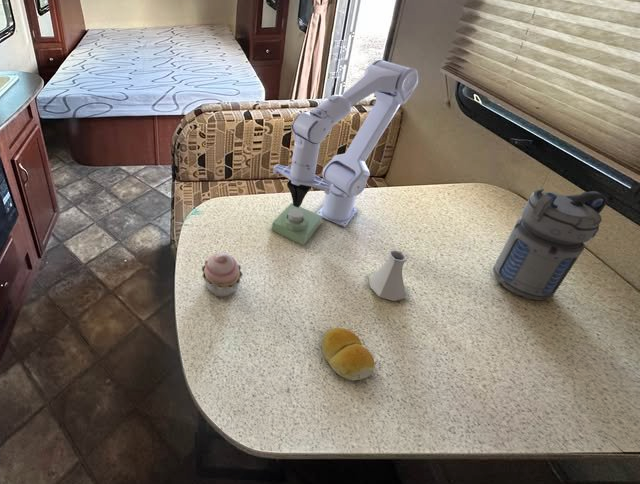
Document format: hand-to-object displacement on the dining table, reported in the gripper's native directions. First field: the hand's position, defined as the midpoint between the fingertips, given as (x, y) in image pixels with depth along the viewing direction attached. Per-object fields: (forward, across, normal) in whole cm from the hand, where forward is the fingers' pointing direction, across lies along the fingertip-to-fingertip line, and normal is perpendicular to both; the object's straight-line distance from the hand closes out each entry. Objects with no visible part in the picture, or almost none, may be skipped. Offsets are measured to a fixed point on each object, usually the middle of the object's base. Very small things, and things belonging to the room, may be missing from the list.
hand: (297, 204), depth 96 cm
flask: (+9, +24, -4) cm, 26 cm away
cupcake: (+9, -4, -28) cm, 30 cm away
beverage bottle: (+9, +46, +17) cm, 50 cm away
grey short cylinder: (+5, 0, 0) cm, 5 cm away
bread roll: (+9, +23, -26) cm, 36 cm away
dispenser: (+9, 0, +2) cm, 9 cm away
